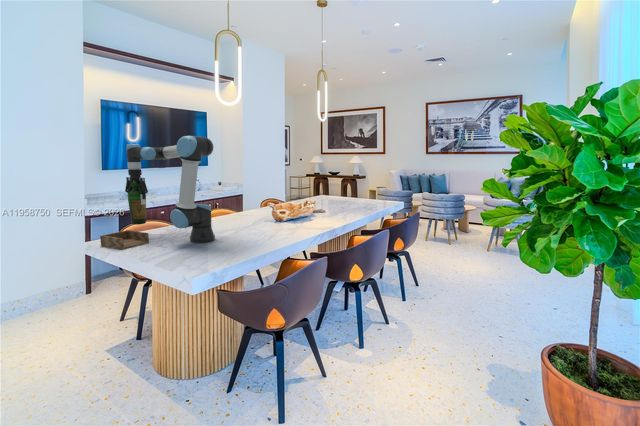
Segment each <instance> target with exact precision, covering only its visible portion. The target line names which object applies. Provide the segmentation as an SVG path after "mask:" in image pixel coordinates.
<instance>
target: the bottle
mask: <svg viewBox="0 0 640 426" xmlns="http://www.w3.org/2000/svg"><path fill="white" fill-rule="evenodd" d="M131 186H132V188H133V190H132V191H130V192H129V193H127V203H128V209H129V215H130V222H131V225H133V226H134V225H136V226H137V225H144V224H146V223H147V203H146V204H143V205H141V192H140V189H139V187H138V185H136V183H135V181H134V180H133V182H132V184H131ZM145 201H146V202H147V198H146V199H145Z"/></svg>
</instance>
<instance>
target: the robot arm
mask: <svg viewBox="0 0 640 426" xmlns="http://www.w3.org/2000/svg"><path fill="white" fill-rule="evenodd" d="M213 151H214V144H213V141H212V140H211V139H209V138H208V137H205V136H196V135H183V136H181V137H180V138H179V139H178V141H177V142H176V144H175V145H170V146H169V145H168V146H163V147H152V146H151V147H150V146H144V147H143V146H142V147H141V146H140V144H138V143H136V144H135V143H127V144H126V158H127V159H126V160H127V169H128V171H127V172H128V177H125V178H126V183H125V189H124V192H125V193H127V194H128V193H129V192H130V191H132V190H133V188H132V186H131V184H132V182H133V180H134V181H135V183H136V185H138V187H139V189H140V192H141V205H143V204H146V205H147V194H148V193H149V191H148V187H147V184H146V179H145V177H141V176H142V174H143V173H142V171H143V170H142V163H141V160H146V161H148V160H149V161H150V160H162V161H163V160H164V161H165V160H166V161H167V160H171V159H175V158H179V160H181V161H182V162H181V163H182V164H181V173H180V174H181V175H180V184H179V186H180V187H179V193H178V194H179V197H178V202H176V203H175V208H174V209H173V210H171V212H170V215H169V216H170V217H169V218H170V221H171V222H170V223H171V224H172V225H173V226H174V227H176V228H177V229H186V228H190V227H192V229H191V232H190V235H189V241H190V242H192V243H210V242H213V241H215V239H216V238H215V237H216V236H215V234H214V230H213V227H212V226H213V225H212V208H211V205H210V204H206V203H195V199H196V198H195V197H196V190H197V181H198V179H197V178H198V172H199V171H198V170H199V164H200V163H201V162H202V158H205V157H209V156H210V155H212V153H213ZM145 199H146V201H145Z"/></svg>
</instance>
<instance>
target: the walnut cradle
mask: <svg viewBox="0 0 640 426" xmlns="http://www.w3.org/2000/svg"><path fill="white" fill-rule="evenodd" d="M99 237H100V239H99V240H100V246H101V247H103V248H104V247H105V248H109V249H110V248H111V249H115V250H121V251H123V250H126V249H130V248H134V247H138V246H142V245H146V244H149V243H150V241H149V233H148V232H143V231H135V230H127V229H126V230H123V231H117V232H111V233H108V234H102V235H100V236H99Z"/></svg>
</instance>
